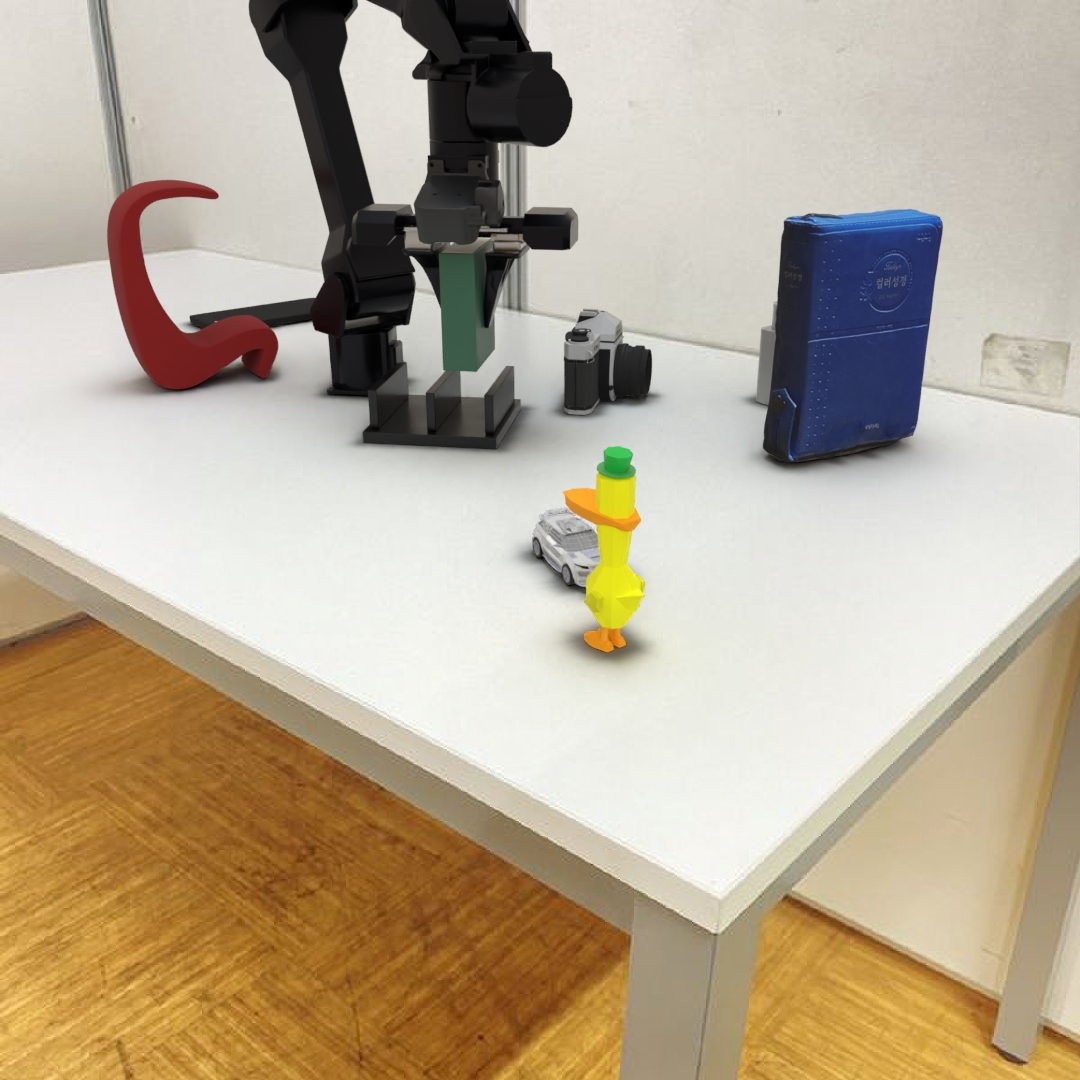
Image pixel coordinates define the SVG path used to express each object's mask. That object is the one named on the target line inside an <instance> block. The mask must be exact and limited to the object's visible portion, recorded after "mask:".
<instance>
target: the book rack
mask: <svg viewBox="0 0 1080 1080" xmlns="http://www.w3.org/2000/svg"><path fill="white" fill-rule="evenodd" d="M408 376H409V375H408V362H407V361H403V362H398V363H397V364H396V365H395V366H394V367H393V368H392V369H391V370H389V371H388V372H387V373H386V374H385V375H384V376H383V377H382V378H381V379H380V380H379V381H377V382H376V383H375V384H374V385H373V386H372V387H371V388H370V389H369V390H368V395H367V398H368V399H367V401H368V414H369V415H368V416H369V425H368V426H366V427H365V429H363V431H362V443H366V444H367V443H369V444H387V445H405V446H406V445H409V446H429V447H430V446H431V447H447V448H450V447H451V448H470V449H471V448H472V449H489V450H497V449H498V447H499V446H500V444H501V442H502V440H503V439H504V437H505V436H506V434H507V432H508V430H509V429H510V428H511V426H512V424H513V423H514V421H515V419H516V417H517V416H518V414H519V413H520V411H521V409H522V402H521V401H522V400H521V398H515V394H516V393H515V389H516V388H515V366H514V365H505V367H504V368H503V369H502V371H501V372H500V373H499V375H498V376H497V377H496V379H495V380H494V381H493V383H492V384H491V386H490V387H489V388H488V390H487V391H486V392H485V394H484V395H483V397H479V396H478V397H477V396H462V379H461V376H462V375H461V371H446V370H444V372H443V373H442V374H441V376H439V378H437V380H436V381H435V382H434V383H433V384H432V385H431V386H430V387H429V388H428V390H426V392H425V394H409V378H408Z"/></svg>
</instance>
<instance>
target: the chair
mask: <svg viewBox="0 0 1080 1080" xmlns="http://www.w3.org/2000/svg"><path fill="white" fill-rule="evenodd" d="M219 197H220V195H219V193H218V191H216V190H214V189H213V188H211V187H209V186H208V185H207V186H206V185H204V184H200V183H196V182H191V181H187V180H178V179H158V180H149V181H143V182H140V183H136V184H134V185H132V186H130V187H128V188H127V189H125V190H124V191H123V192H121V193H120V195H118V196H117V198H116V199H115V200H114V202H113V203H112V205H111V207H110V210H109V212H108V219H107V227H106V228H107V229H106V239H107V240H106V242H107V252H108V258H109V267H110V272H111V279H112V285H113V290H114V296H115V300H116V304H117V308H118V313H119V316H120V319H121V322H122V326H123V329H124V330H123V331H124V333H125V335H126V338H127V340H128V341H127V342H128V343H129V345H130V348H131V350H132V352H133V354H134V356H135V358H136V360H137V362H138V363H139V365H140V367H141V369H142V370H143V371H144V373H145V374H146V376H148V377H149V379H150V380H151V381H152V382H154V383H155V384H156V385H158V386H160V387H162V388H165V389H170V390H183V389H189V388H192V387H194V386H197V385H199V384H201V383H202V382H204V381H206V380H208V379H209V378H211V377H212V376H214V375H216V374H217V373H219V372H220V371H222V370H224V369H225V368H227V367H228V366H230V365H231V364H232V363H234V362H235V361H236V360H238V359H239V358H240V359H241V360H240V361H241V363H242V364H243V365H244V366H245V367H246V368H247V369H248V370H249V371H250V372H252V374H254V375H256V376H257V377H259V378H263V379H265V378H267V377H268V375H269V374H270V371H271V370H272V367H273V365H274V363H275V361H276V358H277V355H278V351H279V340H278V337H277V335H276V333H275V331H274V330H273V329H272V328H271V327H270V326H268V325H267V324H265V323H264V322H262V321H261V320H259V319H258V318H256V317H253V316H250V315H240V316H233V317H229V318H226V319H223V320H220V321H218V322H216V323H213V324H211V325H209V326H207V327H205V328H201V329H199V330H197V331H195V332H185V331H182V330H181V329H180V328H179V327H178V326H177V324H176V323H175V322H174V321H173V320H172V318H171V317H170V316H169V314H168V313H167V311H166V310H165V309H164V306H163V305H162V304H161V301H160V300H159V298H158V297H157V294H156V292H155V289H154V288H153V286H152V282H151V280H150V277H149V274H148V271H147V268H146V267H147V266H146V261H145V256H144V253H143V247H142V246H143V245H142V239H141V226H140V224H141V223H140V222H141V221H140V220H141V216H142V214H143V212H144V211H145V209H147V207H149V206H150V205H152V204H153V203H155V202H158V201H161V200H169V199H177V198H198V199H206V200H217V199H219Z"/></svg>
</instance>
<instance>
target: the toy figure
mask: <svg viewBox="0 0 1080 1080" xmlns="http://www.w3.org/2000/svg"><path fill="white" fill-rule="evenodd" d="M633 457H634V453H633V452H632V450H631V449H630V448H627V447H623V446H620V445H617V446H607V447H606V448H605V449H604V450H603V461H601V462H599V463H598V464H597V465H596V471H597V474H595V488H590V487H581V488H579V487H578V488H570V489H567V490H564V491H561V493H562V494H563V495H564V500H565V502H564V503H565V505H566V506H567V508H569V509H570V510H571V511H572V512H573V513H575V514H576V516H577V517H579V518H582V519H584V520H586V521H588V522H589V523H592V524H594V525H595V527H596V534H597V536H598V544H599V553H600V561H601V562H600V563H599V564H598V566H597V567H596V568H595V569H594V571H593V572H592V573H591V574H590V575H589V577H588V578H587V579H586V587H585V599H584V601H583V603H584V604H585V605H586V606H587V607H588V609H589V610H590V612H591V614H592V615H593V616H594V619H596V621H597V622H598V624H599V625H600V626H599V627H598V629H597V630H589V631H586V632H585V633H584V634H583V639H584V641H585V642H586V644H587V645H588V646H590V647H592V648H593V649H596V650H599V651H602V652H605V653H610V652H612V651H614V650H615V649H614V648H615V647H617V648H619V649H620V648H623V647H626V646H627V642H626V639H625V637H624V636H623V635H622V634H621V633H622V628H623V627H625V625H627V624H628V622H629V621H630V620H631V619H632V617H633V616H634V615H635V613H636V612H637V610H638V609H639V608H640V606H641V601H643V599H644V597H645V596H646V594H645V586H646V580H645V579H644V578H642V577H641V576H640V574H638V573H637V574H636V572H634V571H633V569H632V568H631V566H630V565H629V563H628V560H629V556H630V555H629V554H630V548H631V541H632V536H633V531H635V530H636V528H637V527H638V526H639V525H640V523H641V522H642V518H641V516H640V514H639V512H638V510H637V509H636V485H637V483H636V481H637V480H636V479H637V475H636V473H637V469H636V467H635V466H634V465H633V464H631V463H632V460H633Z"/></svg>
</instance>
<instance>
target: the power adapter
mask: <svg viewBox="0 0 1080 1080" xmlns="http://www.w3.org/2000/svg"><path fill="white" fill-rule="evenodd" d="M772 304H773V305H772V318H771V325H767V326H762V327H761V328H760V340H759V353H758V365H757V366H758V368H757V381H756V394H755V395H756V396H755V402H757V403H760V404H763V405H766V406H768V403H769V397H770V389H771V379H772V368H773V357H774V347H775V340H776V333H775V323H776V310H777V300H775V301H773V303H772Z"/></svg>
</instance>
